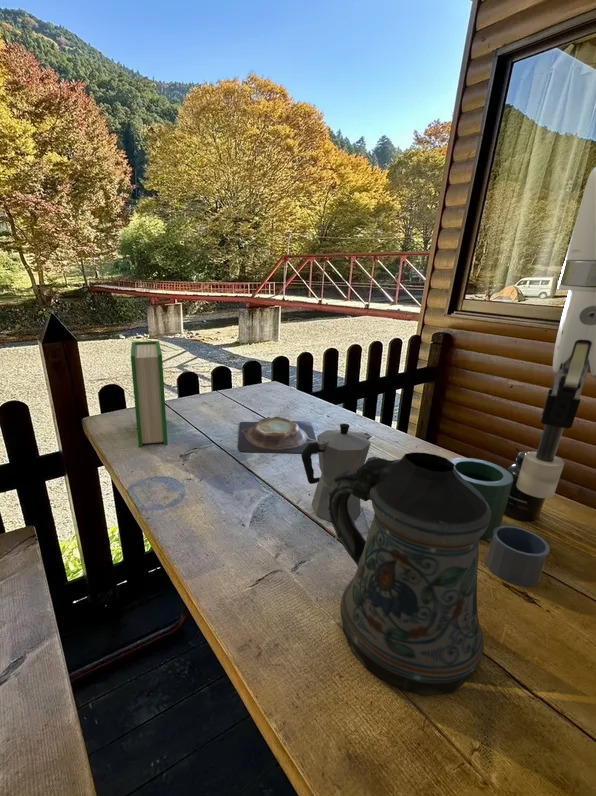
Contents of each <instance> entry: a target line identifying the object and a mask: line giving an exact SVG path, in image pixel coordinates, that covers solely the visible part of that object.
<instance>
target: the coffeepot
mask: <svg viewBox="0 0 596 796" xmlns="http://www.w3.org/2000/svg"><path fill="white" fill-rule="evenodd" d="M339 428H340V429H326V430H324V431H322V432H321V433H319V434H318V435H316V440H317V441H315V442H314V443H309V444H308V445H307V446H306V448H305V449H304V450H303V452H302V453H301V461H302V464H303V467H304V471H305V475H306V480H307V483H309V484H310V485H314V484H316V488H315V491H314V494H313V497H312V501H311V506H312V509H313V511H314V513H315V515H316V516H317V517H319V518H321V519H322V520H325V521H327V522H331V520H330V516H329V512H328V494H329V491H330V488H331V487H332V485H333V484H334V482H335V481H334V479H335V478H336V477H337V476H338V475H340V474H342V473H344V472H347V471H352V470H358V469H359V468H360V467H362V466H363V465H364V464H365V463H366V461H367V457H368V453H369V450H370V447H371V444H372V443H371V441H370V439H371V438H372V437H373V435H370V434H369V433H368V432H362V431H352V430H350V424H348V423H340V424H339ZM314 453H318V454H317V455H318V467H319V470H320V472H321V475H320V476H319V477H314V476H315V470H314V468H313V460H312V455H313V454H314ZM348 509H349V512H350V514H351V517H352V519H353V521H354V522H355V520H356V519H358V517H359V515H360V514H362V507H361V499H360V498H357V497H355V496H354V495H352V494H351V495H350V497H349V499H348ZM331 523H332V522H331Z"/></svg>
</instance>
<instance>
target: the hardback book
mask: <svg viewBox="0 0 596 796" xmlns="http://www.w3.org/2000/svg"><path fill="white" fill-rule="evenodd" d="M163 361H164V360H163V352H162V347H161V344H160V340H148V341H147V340H146V341H145V340H144V341H131V347H130V363H131V364H130V365H131V374H132V386H133V387H132V388H133V400H134V409H135V420H136V421H135V423H136V431H137V433H136V434H137V443H138V448H143V444H154V443H155V444H156V443H163V446H168V429H167V414H166V412H167V411H166V396H165V395H166V394H165V382H164V381H165V379H164V365H163Z"/></svg>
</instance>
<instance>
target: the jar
mask: <svg viewBox="0 0 596 796" xmlns="http://www.w3.org/2000/svg"><path fill="white" fill-rule="evenodd" d="M448 460H449V461H451V462H452V463H453V464H454V469H455V470H456V471H457V472H458V473H459V475H460V476H461V477H462V478H463V479H464V480H465V481H466V482H468V483H469V484H471V485H472V486H473V487H474V488H475V489H476V490H477V491H478V492H479V493H480V494H481V495H482V496H483V497H484V499H485V500H486V502H487V503H488V505H489V507H490V510H491V519H490V524H489V526H488V527H487V529H486V531H485V533H484V534H483V535H482V536H481V537H480V538H479V540H491V537H492V533H493V530H494V529H495V528H497V527H499V526H502V523H503V522H502V521H503V518H504V516H505V515H504V511H505V508H506V504H507V501H508V497H509V494H510V490H511V486H512V483H513V477H512V475H511V474H510V473H509V472H508V471H507V469H506V468H504V467H503V466H500V465H499V464H495V463H493V462H491V461H487V460H484V459H479V458H474V457H456V458H452V459H448Z"/></svg>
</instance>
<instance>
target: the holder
mask: <svg viewBox="0 0 596 796" xmlns="http://www.w3.org/2000/svg"><path fill="white" fill-rule="evenodd" d="M550 552H551V549H550V545H549V543H548V542H547V540H545V538H542V537H541V536H540V535H538V534H536V533H535V532H532V531H530V530H528V529H525V528H522V527H518V526H515V525H500V526H499V527H497V528H495V529H494V530H493V533H492V537H491V538H490V540H489V545H488V548H487V552H486V555H485V566H486V567H487V569H488V570H489V571H490V573H492V574H493V575H495V576H496V577H497V578H499V579H500V580H503V581H505V582H507V583H510V584H512V585H515V586H520V587H533V586H536V585H538V583H539V582H540V581H541V579H542V575H543V573H544V569H545V567H546V563H547V561H548V557H549V555H550Z"/></svg>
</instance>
